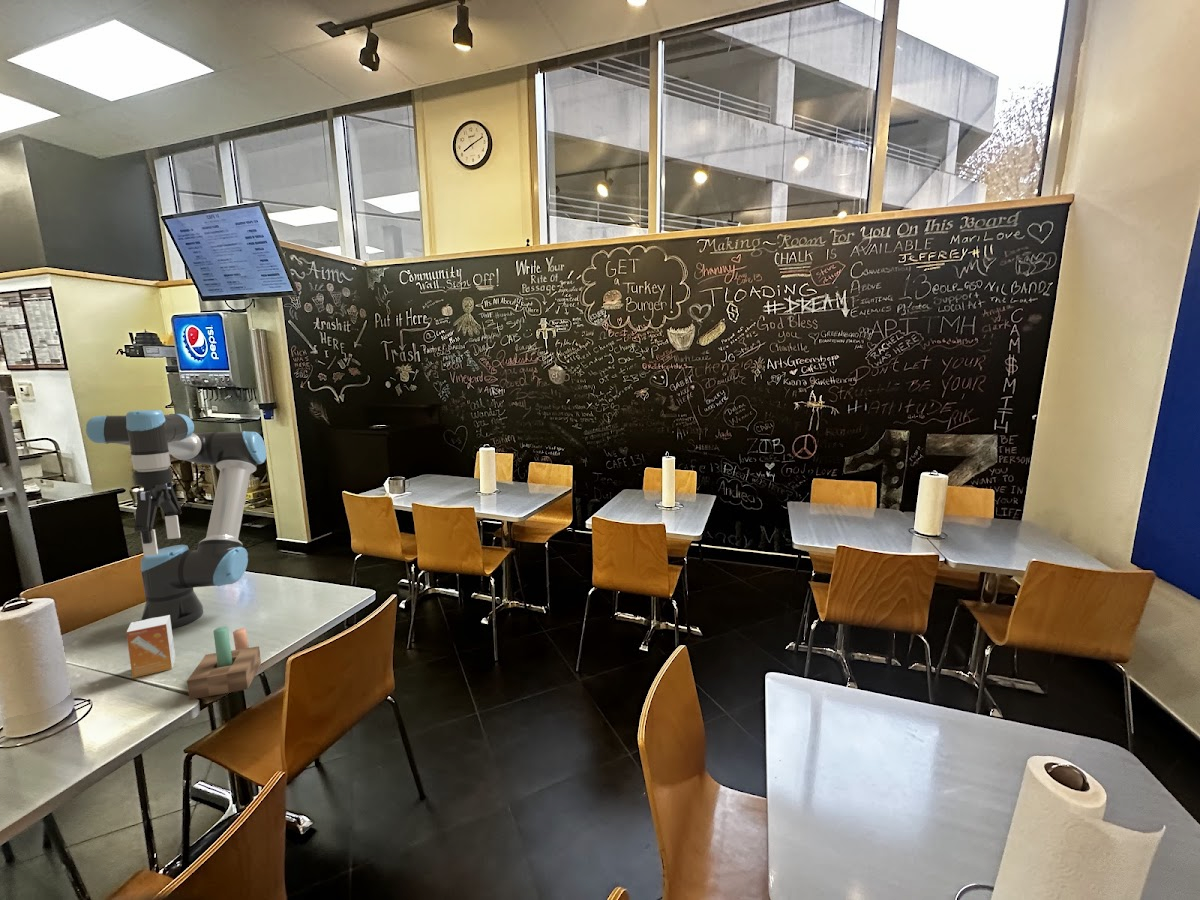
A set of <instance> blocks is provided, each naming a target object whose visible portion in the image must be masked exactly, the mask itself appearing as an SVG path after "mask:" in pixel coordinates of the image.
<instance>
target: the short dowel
mask: <svg viewBox="0 0 1200 900" xmlns="http://www.w3.org/2000/svg"><path fill="white" fill-rule="evenodd" d="M232 635H233V642H234V650H239V649H245V648H250V647H249V641H248V634H247V628H245V627H243V628H239V629H236V630H234V631H232Z"/></svg>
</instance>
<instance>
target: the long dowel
mask: <svg viewBox="0 0 1200 900" xmlns="http://www.w3.org/2000/svg"><path fill="white" fill-rule="evenodd" d="M229 631H230V630H229V627H228V626H221V627H218V628H215V629H214V630H213V638H214V646H215V653H216V656H217V664H218V667H224V666H230V665H232V664H233V663H232V655H231V651H232V649H231V641H230V638H231V637H230V634H229V633H230V632H229Z"/></svg>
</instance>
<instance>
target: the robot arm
mask: <svg viewBox="0 0 1200 900" xmlns="http://www.w3.org/2000/svg"><path fill="white" fill-rule="evenodd" d="M85 426H86V427H85V434H86V436H87V438H88V439H89V440H90V441H91V442H92V443H95V444H107V445H108V444H118V445H123V446H129V448H130V455H131V456H130V457H129V461H131V463H132V468H133V470H135V471H134V472H133V477H134V478H133V479H134V484H135V486H137V487H138V486H139V487H142V488H143V491H141V492H140V491H138V492H137V493H136V511H135V518H134V519H135V522H134V532H135V533H140V538H141V544H142V552H143V557H142V558H141V559H140V572H141V578H142V585H143V590H144V591H143V592H144V596H145V597H144V598H145V605H144V608H143V611H142V615H141V619H140V621H141V620H146V619H150V618H156V617H162V616H166V615H170V620H171V628H172V629H175V628H179V627H182V626H185V625H188V624H190V623H193V622H194V621H196V620H198V619H199V618H201V617H202V616H203V614H204V607H203V604H202V602H201V601H200V599H199V598H198V596H197V593H195V591H194V588H205V587H215V586H216V587H222V586H226V585H228V586H229V585H233V584H235V583H237V582H239V580H240V579H242V577H243V576H244V575H245V572H246V570H247V567H248V562H249V557H248V556H249V553H248V551H247V549H246V548H245V547H243V542H242V541H240V540H239V536H240V531H241V527H242V521H243V514H244V509H245V506H246V505H245V503H246V498H247V492H248V488H249V484H250V478H251V475H252V474H253V473H254V472H256V471H257V467H258V465H262V464H264V463H265V462H266V459H267V449H266V444H265V441H264V439H263V437H262V436H261V434H260V433H258V432H256V431H247V430H246V431H245V430H243V431H218V432H217V431H210V432H209V431H208V432H207V431H206V432H194V431H195V424H194V422H193V420H192V419H191V418H190V417H189V416H188V415H186V414H182V413H170V414H164V412H163V411H162V410H161V409H144V410H143V409H142V410H131V411H128V412H127V413H126V415H108V414H106V415H98V416H97V415H95V416H92V417H91V418H90V419H89V420H88V421H87V422H86V425H85ZM170 455H171V456H172V457H173V458H175V459H177V460H180V461H186V462H190V463H195V464H200V465H207V466H215V467H216V468H217V470H219V475H218V480H217V484H216V490H215V494H214V499H213V503H212V504H213V505H212V508H211V513H210V517H209V518H210V519H209V522H208V527H207V532H206V536H205V538H203V539H202V540H200V541H199V542H198V546H197V549H196V550H195V549H194V550H193V549H192V550H190V549H189V547H188V544H187V545H186V544H178V545H177V544H175V545H171V546H167V547H162V548H158V543H157V535H156V534H157V533H156V529H153V528H154V524H155V519H156V514H157V510H158V508H159V507H160V508H161V509H162V510H163V511H164V513H165V515H166V516H164V522H165V530H166V536H167V540H171V539H172V540H173V539H174V540H175V539H181V532H180V529H181V528H180V522H179V516H178V515H181V514H182V512H183V511H182V510H181V509H182V508H181V505H180V502H179V500H178V497H177V495H176V492H175V490H174V485H173V473H172V472H173V471H172V468H170V467H171V465H172V464H171V463H172V462H171V457H170Z"/></svg>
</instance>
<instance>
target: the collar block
mask: <svg viewBox="0 0 1200 900" xmlns="http://www.w3.org/2000/svg"><path fill="white" fill-rule="evenodd" d="M231 655H232V663H233V664H232V665H230V666H224V667H218V664H217V656H216V652H215V653H208V654H205V655H204V656H203V658H202V659H201V661H200V662H199V663H198V665H197V666H196V667H195V669H194V670H193V671H192V673H191V675H190V676H189V677H188V678H187V680H186V685H187V691H188V693H187V694H188V699H189V700H194V699H201V698H205V697H212V696H216V695H222V694H228V693H234V692H239V691H244V690H248V689H249V688H250V687H251V686H250V685H251V683H252V682H253V680H254V677H255V675H256V673H257V672H258V670H259V668H260V667H261V664H262V662H261V652H260V646H253V647H249V648H245V649H239V650H235V649H234V650H232V649H231Z"/></svg>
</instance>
